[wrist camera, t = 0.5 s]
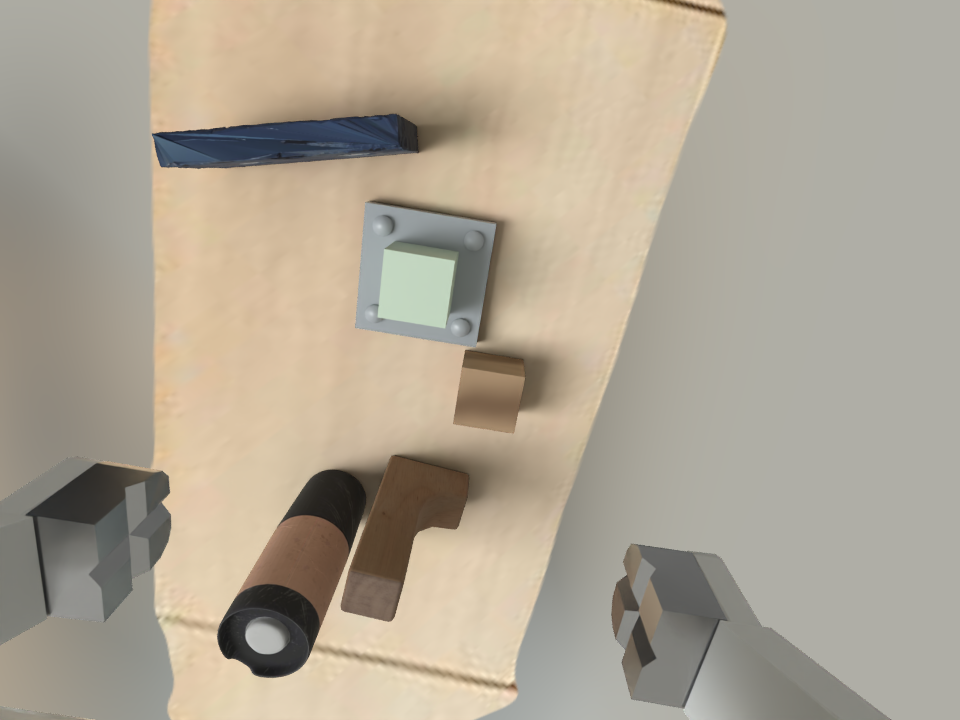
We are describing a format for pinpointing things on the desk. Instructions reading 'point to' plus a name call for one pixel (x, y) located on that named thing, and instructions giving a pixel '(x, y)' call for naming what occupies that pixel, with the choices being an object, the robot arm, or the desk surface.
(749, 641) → the robot arm
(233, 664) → the desk surface
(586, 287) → the desk surface
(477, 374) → the walnut brick
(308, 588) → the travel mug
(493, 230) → the base plate
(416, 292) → the green brick
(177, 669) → the desk surface
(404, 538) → the wooden block
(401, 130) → the vhs cassette tape
